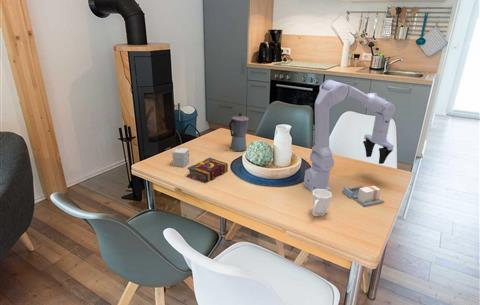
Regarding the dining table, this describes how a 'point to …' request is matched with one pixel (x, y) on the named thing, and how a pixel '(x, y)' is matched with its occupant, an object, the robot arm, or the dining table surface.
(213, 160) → the decorative book
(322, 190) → the cup
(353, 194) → the grey ribbed plate
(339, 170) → the dining table surface
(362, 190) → the block
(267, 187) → the dining table surface
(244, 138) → the moka pot
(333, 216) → the dining table surface
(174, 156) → the skincare box
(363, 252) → the dining table surface
